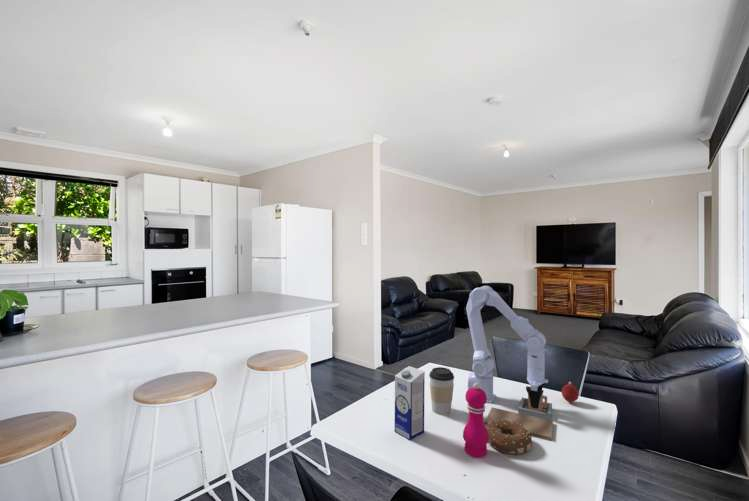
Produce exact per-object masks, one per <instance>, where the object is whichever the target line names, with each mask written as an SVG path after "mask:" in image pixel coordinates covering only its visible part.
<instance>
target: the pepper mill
mask: <svg viewBox="0 0 749 501" xmlns="http://www.w3.org/2000/svg"><path fill="white" fill-rule="evenodd" d="M464 396H465V400H466V402H467V405H466V406H467V407H466V409H467V411H468V416H467V417H468V419H467V422H466V423H465V426H464V428H463V432H462V438H463V440H464V442H465V443H464V452H465V453H466V454H467V455H469V456H470V457H474V458H477V459H478V458H479V459H480V458H484V457H486V456H487V453H488V446H487V444H489V443H488V441H489V436H488V432H487V429H486V424H485V419H484V413H485V412H486V406H485V405H486V403H488V402H487V396H486V393H485V392H484V391H483V390H482V389H480V388H479V384H478V383H474V384H473V388H470V389H468V388H467V391H466V392H465V395H464Z"/></svg>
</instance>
